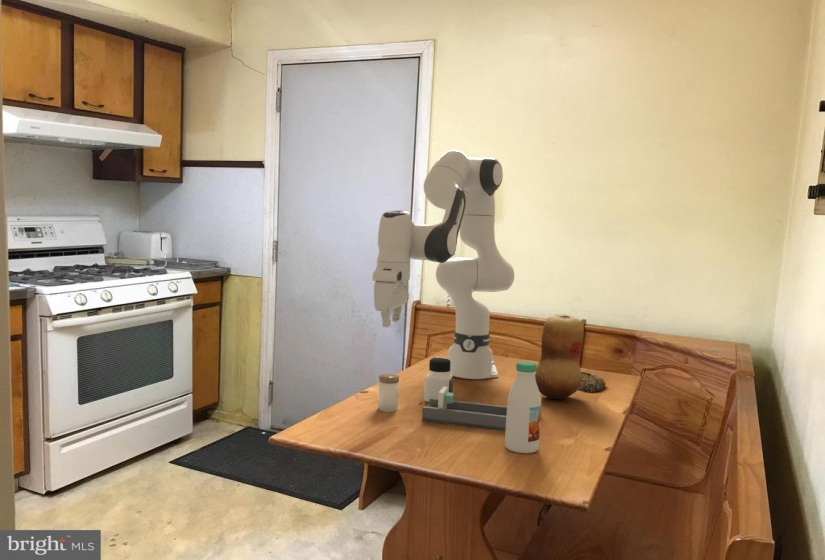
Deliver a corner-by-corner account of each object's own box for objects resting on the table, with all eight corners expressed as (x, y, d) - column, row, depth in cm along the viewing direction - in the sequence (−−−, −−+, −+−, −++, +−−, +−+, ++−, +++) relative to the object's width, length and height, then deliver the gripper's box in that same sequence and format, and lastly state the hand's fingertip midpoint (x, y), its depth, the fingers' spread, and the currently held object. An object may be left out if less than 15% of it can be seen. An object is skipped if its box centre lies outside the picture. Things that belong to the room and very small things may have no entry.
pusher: (442, 409, 171) (443, 386, 170) (454, 411, 170) (455, 387, 169) (437, 416, 165) (438, 392, 164) (449, 417, 164) (451, 393, 163)
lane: (429, 410, 173) (430, 381, 172) (519, 421, 167) (521, 391, 166) (422, 421, 164) (423, 390, 163) (516, 432, 159) (518, 400, 158)
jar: (381, 405, 176) (382, 373, 175) (400, 407, 175) (401, 375, 174) (375, 410, 171) (376, 377, 170) (394, 413, 170) (396, 379, 169)
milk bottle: (516, 456, 143) (521, 368, 141) (498, 444, 150) (503, 360, 148) (545, 452, 146) (550, 366, 144) (526, 440, 153) (531, 358, 151)
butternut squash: (560, 407, 181) (566, 320, 179) (524, 396, 191) (529, 313, 189) (590, 400, 190) (596, 317, 187) (553, 389, 200) (559, 310, 198)
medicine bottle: (448, 404, 180) (450, 362, 179) (423, 401, 181) (425, 360, 180) (452, 397, 187) (454, 357, 186) (428, 395, 188) (430, 355, 187)
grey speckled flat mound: (610, 387, 207) (611, 372, 206) (593, 395, 197) (595, 379, 197) (573, 380, 215) (574, 365, 214) (556, 386, 206) (557, 371, 205)
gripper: (392, 269, 180) (390, 317, 182) (370, 274, 160) (368, 329, 162) (414, 270, 179) (412, 319, 180) (394, 276, 159) (392, 331, 160)
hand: (391, 324), depth 171 cm, fingers open, 8 cm apart
